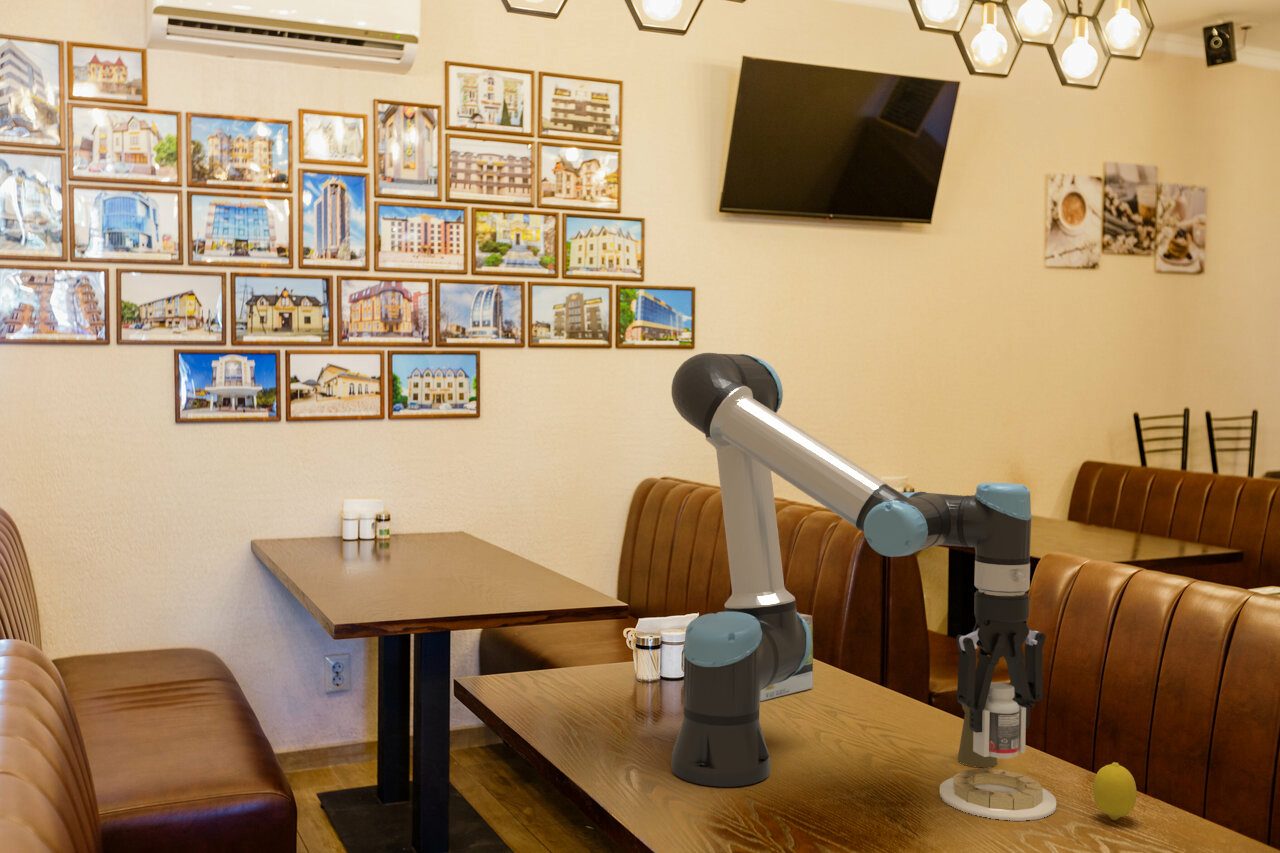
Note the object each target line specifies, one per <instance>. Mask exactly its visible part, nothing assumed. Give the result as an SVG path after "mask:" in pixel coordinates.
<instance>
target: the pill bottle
mask: <svg viewBox="0 0 1280 853" xmlns="http://www.w3.org/2000/svg"><path fill="white" fill-rule="evenodd" d="M1014 695H1015V694H1014V687H1013V686H1012V685H1011V684H1008V683H1006V682H1005V683H1004V682H991V685H990V689H989V693H988V697H987V701H986V704H985V708H984V709H986V710H988V711H990V720H989V756H991V757H995V758H997V759H1011V758H1016V757H1017V756H1018V755H1019V752H1018V749H1019V705H1018V703H1017V702H1016V701H1015V698H1014Z"/></svg>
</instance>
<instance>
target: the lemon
mask: <svg viewBox="0 0 1280 853" xmlns="http://www.w3.org/2000/svg"><path fill="white" fill-rule="evenodd" d="M1137 794H1138V793H1137V786H1136V781H1135V778H1134V777H1133V775H1132V774H1131V772H1130V771H1129V770H1128V769H1127V768H1126V767H1124V766H1122V765H1120V764H1119V762H1115V761H1113V762H1112V763H1111V764H1106V765H1105V766H1103V767H1101V768H1100V769H1099V770H1098V771H1097V773H1096V775H1095V776H1094V780H1093V784H1092V795H1093V800H1094V801H1095V805H1096V806H1097V808H1098V809H1099V810H1100V811H1101V812H1102V813H1103V814H1105V815H1107V816H1108V817H1109V818H1110V819H1111V820H1112V821H1118V819H1119V818H1121V817H1125V816H1127V815H1129V814H1130V813H1131V812H1132V811H1133V809H1134V808H1135V806H1136V802H1137Z"/></svg>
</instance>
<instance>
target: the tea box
mask: <svg viewBox="0 0 1280 853" xmlns="http://www.w3.org/2000/svg"><path fill="white" fill-rule="evenodd" d="M798 613H799V612H798ZM799 614H800V616H801V617H802V618H803V619H805V621H806V622H807V624H808V627H809V629H810V633H811V640H812V644H811V651H810V655H809V657H808V660H807V661H806V663H805V665H804V666H803V667H802V668H801V669H800V670H799V671H798V672H797V673H795V674H794V675H793V676H791V677H790V678H789V679H787V680H785V681H782V682H780V683H775V684H773V685H771V686H769V687H766V688H764V689H762V690H760V702H763V701H767V700H771V699H775V698H780V697H783V696H788V695H792V694H794V693H798V692H799V693H800V692H802V691H806V690H811V689H813V688H814V670H813V669H814V668H813V667H814V642H813V640H814V639H813V638H814V637H813V636H814V634H813V633H814V630H813V629H814V628H813V627H814V625H813V615H811V614H807V613H806V614H804V613H799Z"/></svg>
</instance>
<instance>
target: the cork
mask: <svg viewBox="0 0 1280 853" xmlns="http://www.w3.org/2000/svg"><path fill="white" fill-rule="evenodd" d="M961 706H962V710H963V711H964V718H963V723H962V724H963V725H962V730H961V737H960V743H959V749H958V756H957V761H958V760H959V761H960V762H961V763H964V764H967V765H970V766H976V767H991V768H993V767H992V766H995V765H996V766H997V765H998V760H997V759H998V758H995V757H991V756H989V757H983V756H981V755H980V754H978V753H976V752H974V751H973V731H972V730H970V727H969V723H970V722H969V720H970V719H969V718H970V709H969V707H967V706H965V705H963V704H961ZM959 761H958V762H959ZM960 762H959V763H960ZM961 763H960V764H961ZM970 766H969V767H970ZM996 766H995V767H996Z"/></svg>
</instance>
